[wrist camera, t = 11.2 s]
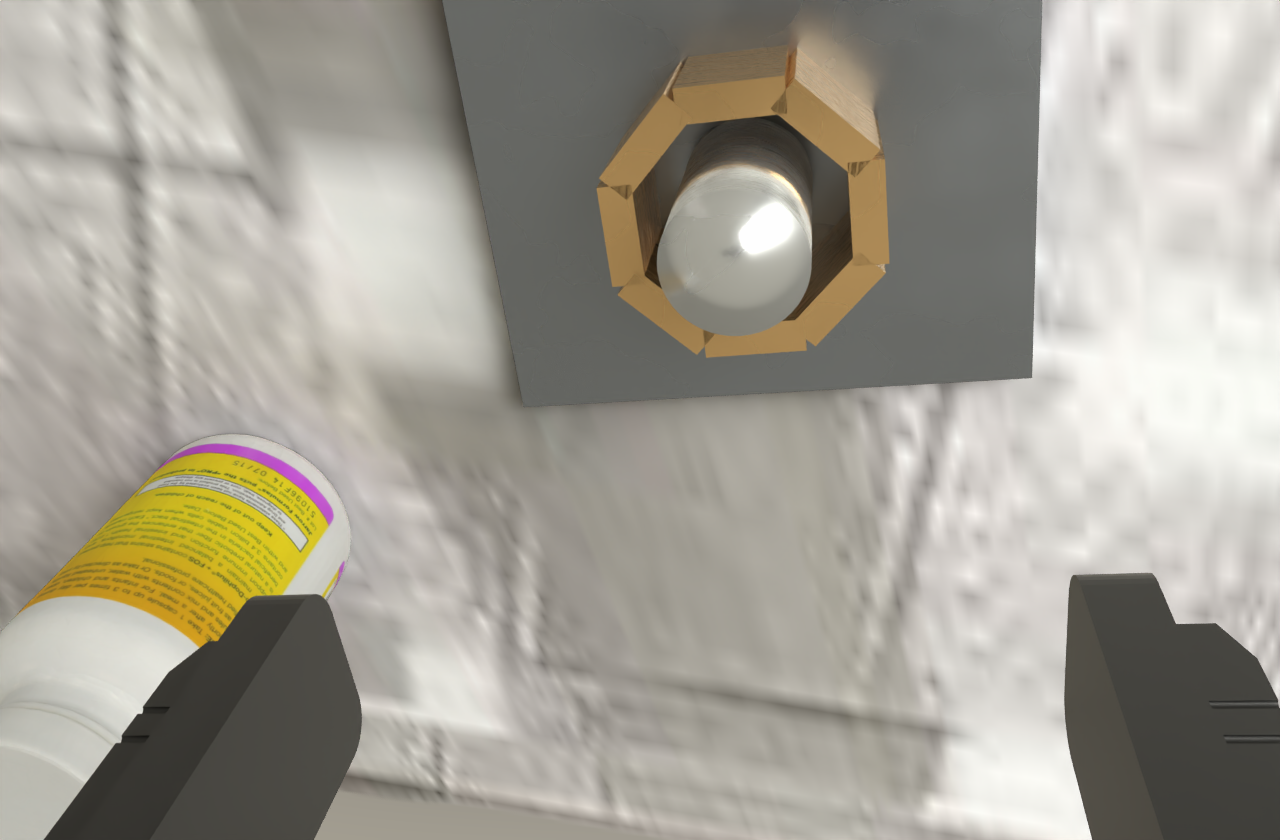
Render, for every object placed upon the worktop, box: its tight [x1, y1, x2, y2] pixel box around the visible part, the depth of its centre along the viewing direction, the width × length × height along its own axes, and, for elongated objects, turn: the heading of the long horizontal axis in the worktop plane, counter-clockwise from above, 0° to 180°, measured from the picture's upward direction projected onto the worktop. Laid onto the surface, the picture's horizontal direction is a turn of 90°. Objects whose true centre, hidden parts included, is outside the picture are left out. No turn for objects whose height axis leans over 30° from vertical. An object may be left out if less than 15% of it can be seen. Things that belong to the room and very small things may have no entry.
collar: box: [597, 45, 890, 358], centre depth 27 cm, size 6×6×4 cm
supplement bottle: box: [0, 434, 351, 840], centre depth 32 cm, size 7×7×13 cm
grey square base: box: [442, 0, 1042, 407], centre depth 27 cm, size 14×12×7 cm
